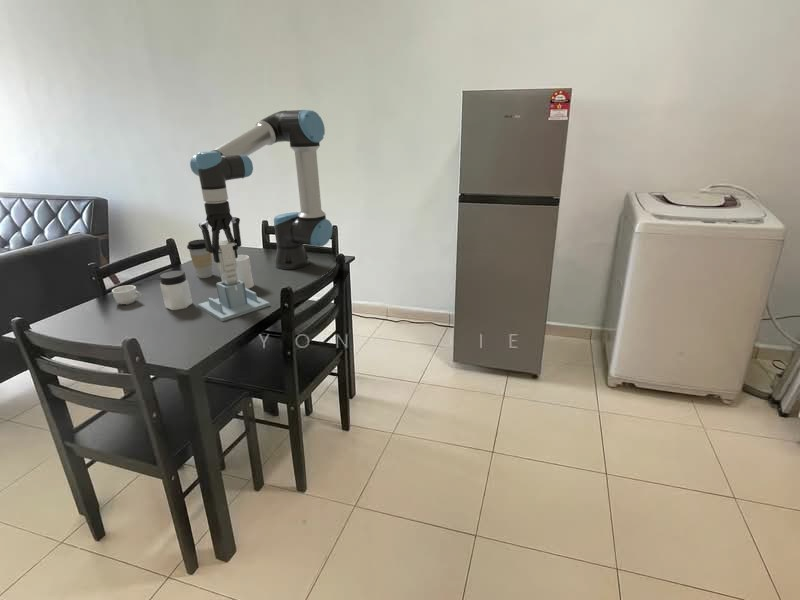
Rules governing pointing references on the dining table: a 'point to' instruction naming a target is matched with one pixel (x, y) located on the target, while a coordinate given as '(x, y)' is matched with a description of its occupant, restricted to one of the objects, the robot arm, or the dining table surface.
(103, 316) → the dining table surface
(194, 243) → the coffee cup
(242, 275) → the mug
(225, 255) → the column
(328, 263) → the dining table surface
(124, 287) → the teacup
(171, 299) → the jar
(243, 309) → the stand base
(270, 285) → the dining table surface
